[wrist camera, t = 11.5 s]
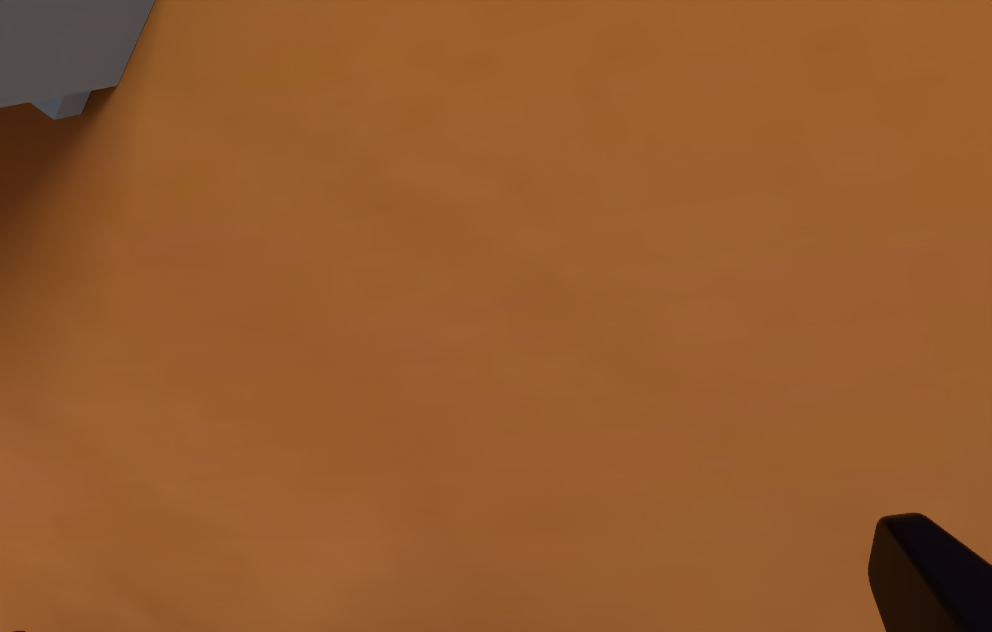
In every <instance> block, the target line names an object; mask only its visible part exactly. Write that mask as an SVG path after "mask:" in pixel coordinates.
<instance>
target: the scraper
mask: <svg viewBox="0 0 992 632" xmlns="http://www.w3.org/2000/svg"><path fill="white" fill-rule="evenodd" d="M154 2H155V0H0V108H2V107H7V106H12V105H18V104H23V103H28V102H30V103H31V104H32V105H34V106H35V107H37V108H38V109H39V110H41V111H42V112H44V113H45V114H46V115H48V116H49V117H50V118H52V119H53V120H57V119H62V118H66V117H71V116H75V115H80V114H81V113H82V111H83V109H84V106H85V104H86V102H87V99H88V97H89V95H90V92H91V91H92V90H98V89H103V88H108V87H114V86H118V83H119V81H120V79H121V77H122V74H123V72H124V70H125V67H126V65H127V63H128V61H129V58H130V56H131V54H132V52H133V49H134V47H135V45H136V42H137V40H138V38H139V36H140V33H141V31H142V29H143V27H144V24H145V22H146V20H147V17H148V15H149V13H150V11H151V8H152V6H153V4H154Z"/></svg>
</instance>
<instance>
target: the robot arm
mask: <svg viewBox="0 0 992 632" xmlns="http://www.w3.org/2000/svg"><path fill="white" fill-rule="evenodd" d="M868 576H869V582H870V587H871V590H872V593H873V596H874V598H875V601H876V604H877V607H878V610H879V613H880V615H881V618H882V621H883V624H884V627H885V630H886V632H992V565H991V564H989V563H988V562H987V561H985V560H984V559H983V558H981V557H980V556H979V555H977V554H976V553H975V552H973V551H972V550H971V549H969V548H968V547H967V546H965V545H964V544H963V543H961V542H960V541H959V540H957V539H956V538H955V537H953V536H952V535H951V534H949V533H948V532H947V531H945V530H944V529H943V528H941V527H940V526H939V525H937V524H936V523H934V522H933V521H932V520H930V519H929V518H928V517H926V516H924V515H922V514H919V513H905V514H898V515H890V516H885V517H882V518H881V519H880V520H879V521H878V522H877V525H876V529H875V534H874V539H873V544H872V549H871V554H870V559H869V565H868ZM14 632H25V631H14Z"/></svg>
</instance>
